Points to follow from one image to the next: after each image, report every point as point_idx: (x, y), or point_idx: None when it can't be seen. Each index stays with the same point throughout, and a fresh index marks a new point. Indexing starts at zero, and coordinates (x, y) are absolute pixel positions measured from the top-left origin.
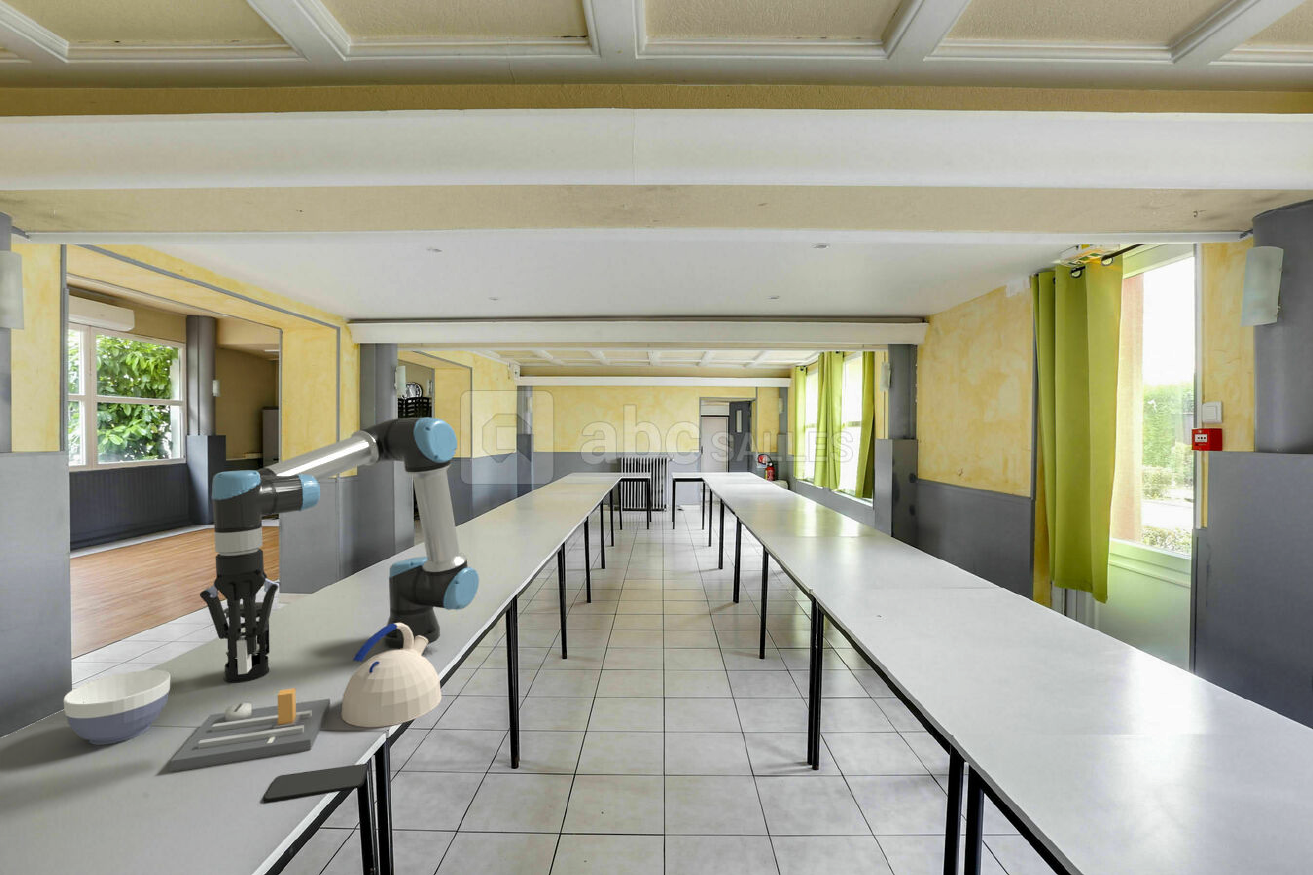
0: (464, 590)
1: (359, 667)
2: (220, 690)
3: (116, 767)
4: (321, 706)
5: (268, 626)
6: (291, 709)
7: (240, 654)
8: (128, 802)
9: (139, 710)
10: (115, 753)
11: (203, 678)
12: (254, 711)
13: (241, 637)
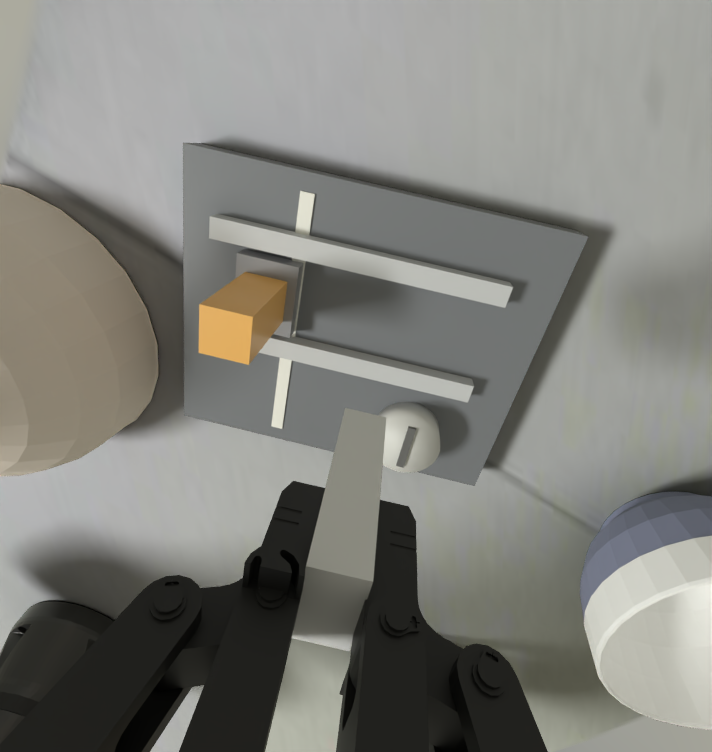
0: None
1: (20, 422)
2: (451, 616)
3: (698, 350)
4: (196, 376)
5: None
6: (230, 284)
7: (361, 489)
8: (708, 67)
9: (670, 534)
10: (687, 434)
11: None
12: None
13: (345, 629)
